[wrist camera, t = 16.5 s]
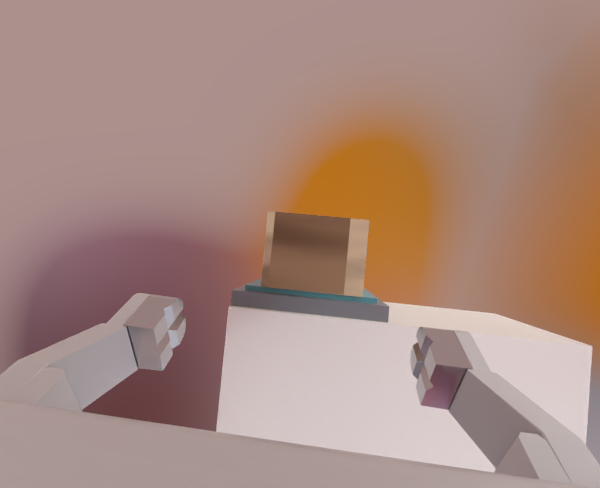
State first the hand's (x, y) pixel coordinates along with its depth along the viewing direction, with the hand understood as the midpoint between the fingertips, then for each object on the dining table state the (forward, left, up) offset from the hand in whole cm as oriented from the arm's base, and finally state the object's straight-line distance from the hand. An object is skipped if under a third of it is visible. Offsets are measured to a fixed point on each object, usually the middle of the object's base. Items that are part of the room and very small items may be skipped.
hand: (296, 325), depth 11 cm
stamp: (0, -12, 0) cm, 12 cm away
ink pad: (0, -18, -2) cm, 18 cm away
